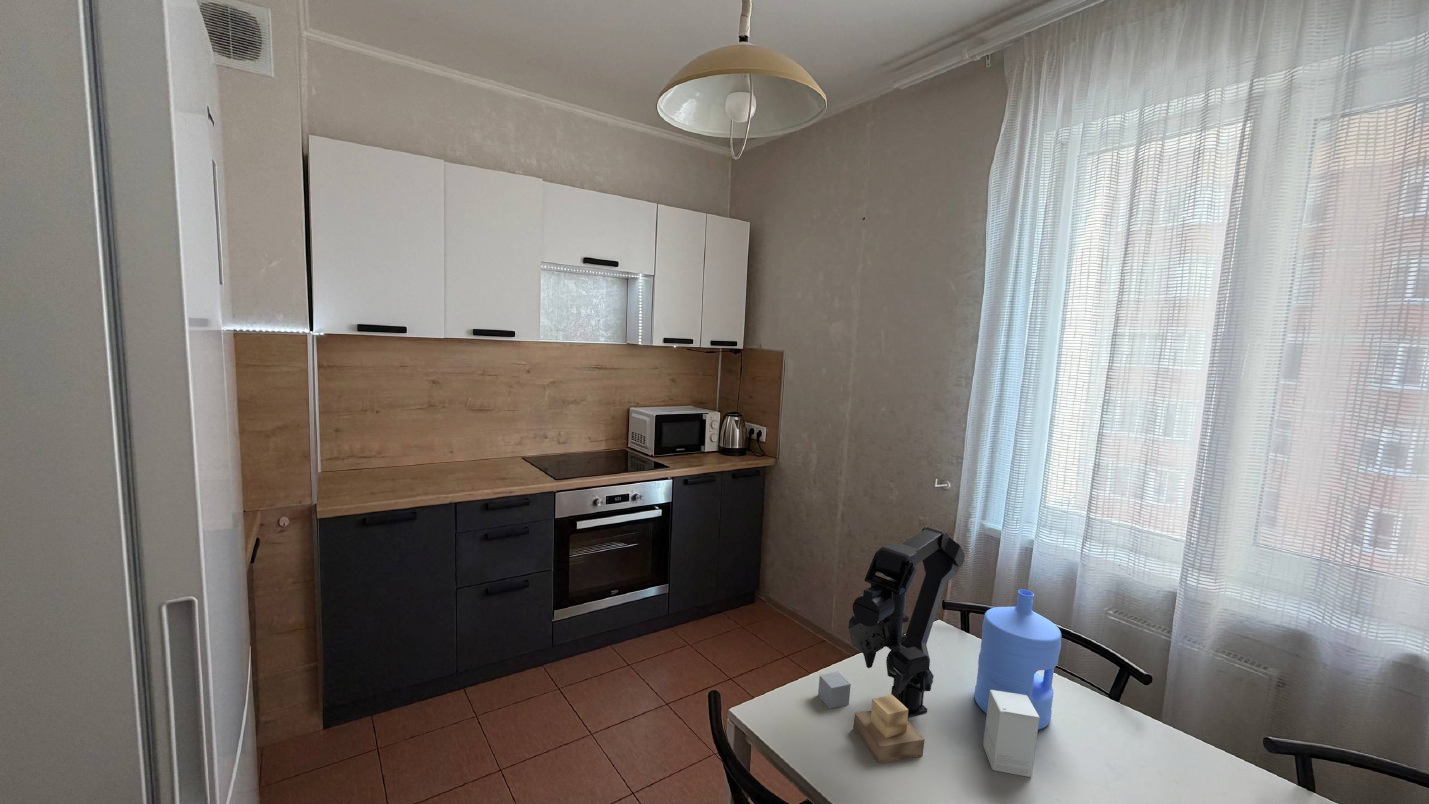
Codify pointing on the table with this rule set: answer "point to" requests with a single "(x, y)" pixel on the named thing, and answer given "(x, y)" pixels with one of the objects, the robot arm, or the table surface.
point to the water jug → (1018, 655)
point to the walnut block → (888, 740)
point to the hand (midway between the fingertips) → (883, 679)
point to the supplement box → (1011, 733)
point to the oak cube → (889, 715)
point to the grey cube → (834, 689)
